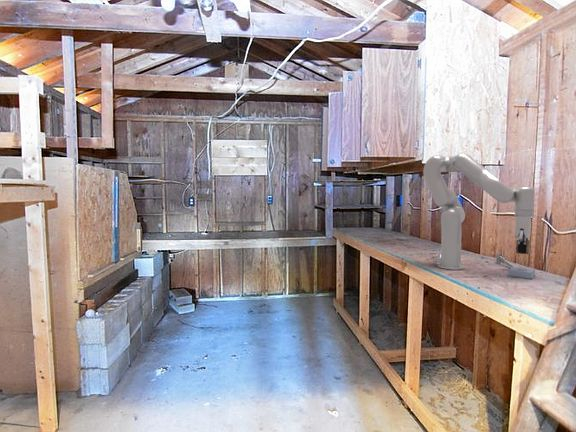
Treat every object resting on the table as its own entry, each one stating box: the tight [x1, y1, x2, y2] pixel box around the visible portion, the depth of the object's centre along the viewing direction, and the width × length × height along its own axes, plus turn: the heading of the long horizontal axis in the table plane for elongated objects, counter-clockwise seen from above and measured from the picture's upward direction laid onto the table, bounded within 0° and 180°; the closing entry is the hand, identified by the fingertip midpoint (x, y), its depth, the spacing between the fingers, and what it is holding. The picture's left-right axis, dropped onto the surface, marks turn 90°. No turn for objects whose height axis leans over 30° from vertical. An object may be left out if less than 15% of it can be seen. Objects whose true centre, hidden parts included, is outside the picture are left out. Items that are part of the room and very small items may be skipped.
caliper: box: [495, 252, 517, 268], centre depth 184 cm, size 20×1×6 cm, turn 178°
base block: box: [507, 266, 536, 280], centre depth 165 cm, size 9×9×3 cm
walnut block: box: [515, 239, 532, 255], centre depth 164 cm, size 5×5×6 cm
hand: (523, 251), depth 164 cm, fingers closed on walnut block, 5 cm apart
